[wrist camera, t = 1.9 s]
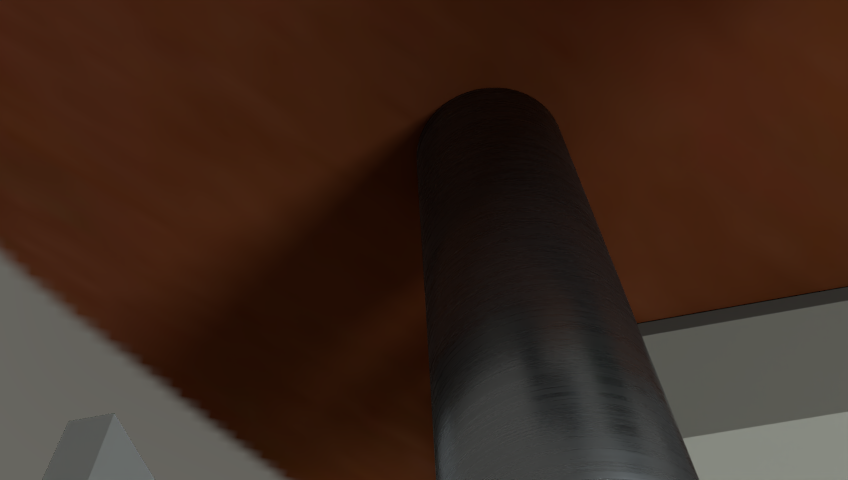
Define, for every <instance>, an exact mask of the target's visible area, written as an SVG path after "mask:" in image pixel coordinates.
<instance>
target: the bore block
mask: <svg viewBox="0 0 848 480" xmlns="http://www.w3.org/2000/svg"><path fill="white" fill-rule="evenodd" d="M637 325H638V327H639V330H640V332H641V335H642V337H643V340H644V342H645V345H646V347H647V350H648V352H649V355H650V357H651V360H652V363H653V365H654V368H655V370H656V373H657V375H658V378H659V380H660V383H661V385H662V388H663V390H664V393H665V395H666V398H667V400H668V403H669V405H670V408H671V410H672V413H673V415H674V418H675V420H676V423H677V425H678V428H679V430H680V433H681V435H682V438H683V440H684V443H685V445H686V448H687V450H688V453H689V455H690V458H691V460H692V463H693V465H694V468H695V470H696V473H697V475H698V478H699V480H848V287H845V288H839V289H833V290H828V291H822V292H816V293H811V294H805V295H799V296H794V297H788V298H782V299H777V300H771V301H765V302H759V303H754V304H748V305H742V306H737V307H731V308H725V309H720V310H714V311H708V312H703V313H697V314H691V315H686V316H680V317H674V318H668V319H663V320H657V321H651V322H646V323H640V324H637Z"/></svg>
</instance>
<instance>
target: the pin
mask: <svg viewBox="0 0 848 480" xmlns="http://www.w3.org/2000/svg"><path fill="white" fill-rule="evenodd" d="M417 175H418V191H419V207H420V224H421V240H422V256H423V272H424V288H425V305H426V321H427V337H428V353H429V369H430V386H431V402H432V418H433V434H434V450H435V467H436V480H699V478H698V475H697V473H696V470H695V468H694V465H693V463H692V460H691V458H690V455H689V453H688V450H687V448H686V445H685V443H684V440H683V438H682V435H681V433H680V430H679V428H678V425H677V423H676V420H675V418H674V415H673V413H672V410H671V408H670V405H669V403H668V400H667V398H666V395H665V393H664V390H663V388H662V385H661V383H660V380H659V378H658V375H657V373H656V370H655V368H654V365H653V363H652V360H651V357H650V355H649V352H648V350H647V347H646V345H645V342H644V340H643V337H642V335H641V332H640V330H639V327H638V325H637V322H636V320H635V317H634V315H633V312H632V310H631V307H630V305H629V302H628V300H627V297H626V295H625V292H624V290H623V287H622V285H621V282H620V280H619V277H618V275H617V272H616V270H615V267H614V265H613V262H612V260H611V257H610V255H609V252H608V250H607V247H606V245H605V242H604V240H603V237H602V235H601V232H600V229H599V227H598V224H597V222H596V219H595V217H594V214H593V212H592V209H591V207H590V204H589V202H588V199H587V197H586V194H585V192H584V189H583V187H582V184H581V182H580V179H579V177H578V174H577V172H576V169H575V167H574V164H573V162H572V159H571V157H570V154H569V152H568V149H567V147H566V144H565V142H564V139H563V137H562V134H561V132H560V129H559V127H558V124H557V123H556V121H555V119H554V117H553V116H552V115H551V113H550V112H549V111H548V110H547V109H546V108H545V107H544V106H543V105H542V104H541V103H540V102H538V101H537V100H536V99H534V98H532V97H530V96H528V95H526V94H524V93H521V92H519V91H515V90H511V89H504V88H485V89H478V90H474V91H470V92H467V93H465V94H462V95H460V96H458V97H456V98H454V99H452V100H450V101H449V102H447V103H446V104H445V105H443V106H442V107H441V108H440V109H439V110H438V111H437V112H436V113H435V114H434V115H433V116H432V117H431V118H430V120H429V121H428V123H427V124H426V126H425V127H424V129H423V131H422V134H421V136H420V139H419V142H418V147H417Z"/></svg>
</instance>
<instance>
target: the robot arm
mask: <svg viewBox="0 0 848 480" xmlns="http://www.w3.org/2000/svg"><path fill="white" fill-rule="evenodd" d="M42 480H155V479H154V477H153V476H152V474H151V472H150V471H149V469H148V467H147V466H146V464H145V462H144V461H143V459H142V458H141V456H140V454H139V453H138V451H137V449H136V448H135V446H134V444H133V443H132V441H131V439H130V438H129V436H128V435H127V433H126V431H125V430H124V428H123V426H122V425H121V423H120V421H119V420H118V418H117V417H116V415H115V413H112V414H107V415H101V416H95V417H90V418H84V419H79V420H73V421H69V422H68V424H67V426H66V428H65V430H64V433H63V435H62V437H61V439H60V441H59V444H58V446H57V448H56V450H55V452H54V455H53V457H52V459H51V461H50V463H49V466H48V468H47V470H46V472H45V474H44V477H43V479H42Z"/></svg>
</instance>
